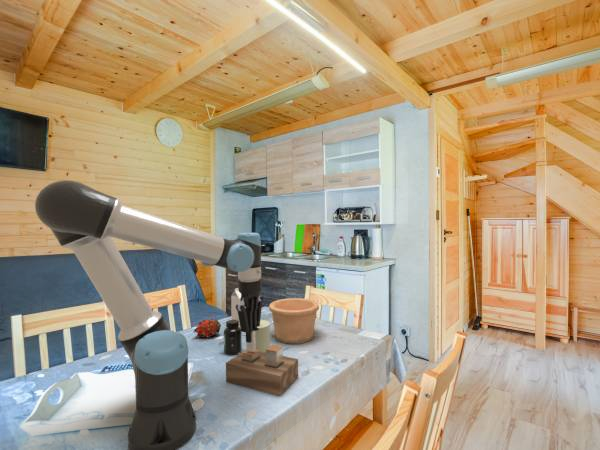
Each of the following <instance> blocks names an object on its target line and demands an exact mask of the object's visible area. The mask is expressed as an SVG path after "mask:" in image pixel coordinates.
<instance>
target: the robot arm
mask: <svg viewBox="0 0 600 450" xmlns="http://www.w3.org/2000/svg"><path fill="white" fill-rule="evenodd" d="M35 198H36V199H35V203H34V209H35V213H36V216H37V217H38V219H39V220H40V221H41V222H42V224H43V225H45V226H46V227H47V228H49V229H50V230H51V232H52V234H53V235H54V237H55V238H56V240H57V241H58V243H59V245H60V246H61V247H62V248H65V249H69V250H71V251H72V252H73V254H74V255H75V257H76V258H77V260H78V261H79V263H80V265H81V266H82V268H83V270H84V271H85V273H86V274H87V276H88V278H89V280H90V281H91V283H92V285H93V286H94V288H95V290H96V291H97V293H98V295H99V296H100V298H101V299H102V301H103V303H104V305H105V306H106V308H107V309H108V311H109V313H110V314H111V316H112V318H113V319H114V322H115V323H116V324H117V326H118V328H119V329H120V331H119V333H118V336H117V340H118V341H119V343H120V344H121V346H122V347H123V349H124V351H125V352H126V354H127V356H128V357H129V360H130V362H131V365H132V368H133V369H132V370H133V373H134V380H135V382H134V386H135V387H134V388H135V411H134V413H133V417H132V421H131V425H130V427H129V430H128V433H127V447H128V450H178V449H180V448H182V447H183V446H184V445H185V444H187V443H188V442H189V441H190V440H191V439H192V438H193V436H194V435H195V433H196V430H197V417H196V412H195V411H194V408H193V405H192V403H191V401H190V397H189V362H188V361H189V356H188V355H189V346H188V340H187V338H186V336H185V335H184V334H183V333H181V332H179V331H174V330H171V329H170V327H169V325H168V323H167V322H166V320H165V318H164V317H163V315H162V313H161V312H160V311H154V310H153V309H152V308H151V306H150V304H149V303H148V300H147V299H146V297H145V295H144V293H143V292H142V290H141V288H140V286H139V285H138V283H137V281H136V279H135V278H134V276H133V274H132V272H131V270H130V269H129V266H128V264H127V263H126V261H125V260H124V258H123V256H122V254H121V252H120V251H119V249H118V247H117V245H116V243H115V242H114V240H113V238H114V239H118V240H122V241H125V242H129V243H133V244H136V245H140V246H144V247H148V248H151V249H155V250H159V251H163V252H166V253H169V254H174V255H177V256H180V257H183V258H187V259H191V260H195V261H199V262H200V263H201V265H202V266H204V267H207V266H208V267H213V266H216V267H221V268H223V269H227V270H230V271H232V272H236V273H237V279H238V280H239V281H238V283H237V285H238V286H237V288H238V291H239V292H240V293H241V299H240V300H241V302H240V304H239V305H236V309H237V311H238V316H239V322H240V328H241V333H245V344H246V349H245V350H246V351H250V352H254V351H256V330H257V331H258V330H259V328H257V327H259V326H260V320H262V319H261V317H262V316H261V315H262V308H263V301H264V299H265V298H264V296H260V292H262V287H263V286H262V280H261V278H262V241H261V235H260V234H259V233H258V232H239V233H238V234H237V237H236V239H227V238H224V237H221V236H218V235H215V234H211V233H209V232H206V231H203V230H199V229H197V228H194V227H191V226H188V225H184V224H181V223H178V222H175V221H172V220H170V219H167V218H164V217H161V216H157V215H155V214H151V213H148V212H145V211H142V210H139V209H136V208H133V207H130V206H127V205H124V204H122V203H121V201H120V199H119V198H118V197H116V196H115V197H114V196H112V195H109V194H106V193H103V192H101V191H99V190H97V189H94V188H92V187H90V186H88V185H86V184H84V183H82V182H79V181H74V180H65V179H64V180H58V181H54V182H51V183H50V184H48V185H46V186H44V187H43V188H42V189H41V190H40V191H39V192H38V194H37V196H36V197H35Z"/></svg>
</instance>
